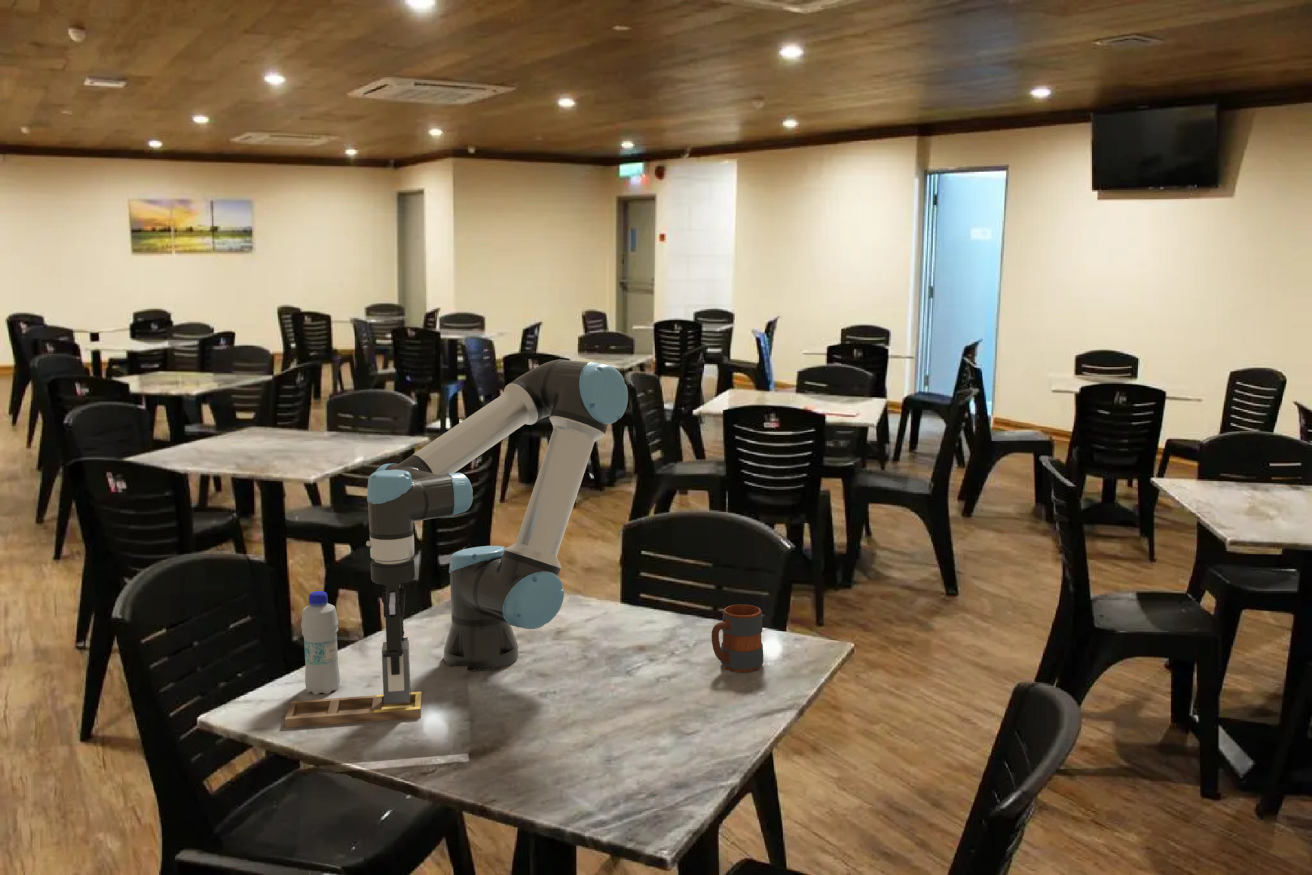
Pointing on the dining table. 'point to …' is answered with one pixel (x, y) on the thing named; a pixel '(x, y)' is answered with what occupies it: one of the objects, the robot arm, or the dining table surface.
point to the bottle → (320, 644)
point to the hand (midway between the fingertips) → (397, 684)
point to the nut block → (404, 696)
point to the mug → (739, 638)
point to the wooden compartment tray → (350, 710)
